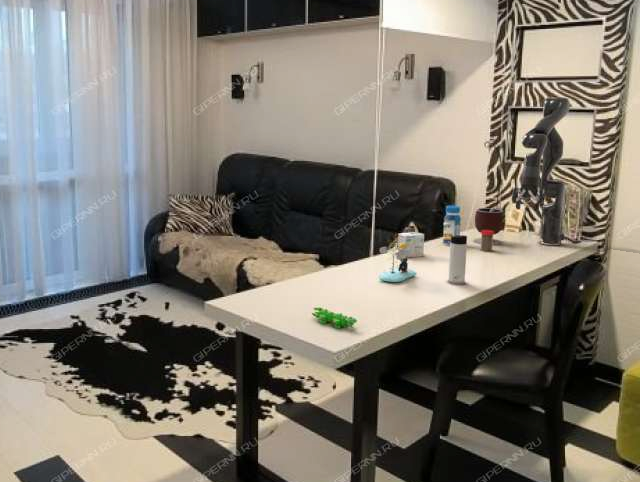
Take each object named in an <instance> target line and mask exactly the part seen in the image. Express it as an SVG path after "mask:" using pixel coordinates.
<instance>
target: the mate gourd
mask: <svg viewBox="0 0 640 482" xmlns="http://www.w3.org/2000/svg"><path fill="white" fill-rule="evenodd" d="M503 225H504V210H503V209H500V208H496V207H495V206H494V207H479V208H476V211H475V215H474V226H475V229H476V230H477V232H478V233H480V234H481V230H492V231H494V235H496V234H499V233H500V232H501V230H502V229H503ZM474 240H475V243H478V244H481V240H482V237H480V238H476V239H474ZM500 244H501V240H499V239H495V238H493V245H492V246H494V245H500Z"/></svg>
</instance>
